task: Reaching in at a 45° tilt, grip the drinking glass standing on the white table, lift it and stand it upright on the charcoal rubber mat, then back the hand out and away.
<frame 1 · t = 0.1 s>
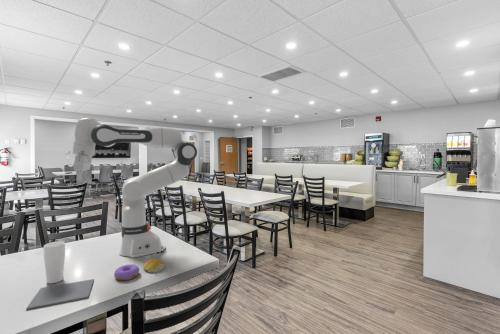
hand: (81, 179, 122), 39 cm above the table, tool pointing down, fingers open, 8 cm apart
donut: (126, 276, 105), on the table
drinking glass: (55, 281, 101), on the table
rubber mat: (63, 293, 91), on the table
bread roll: (154, 269, 113), on the table
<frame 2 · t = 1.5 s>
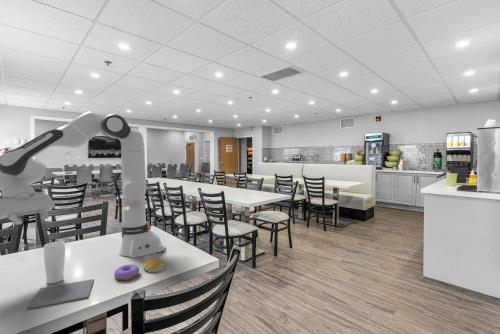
hand: (33, 221, 104), 23 cm above the table, tool tilted 45°, fingers open, 8 cm apart
nothing on the table moved.
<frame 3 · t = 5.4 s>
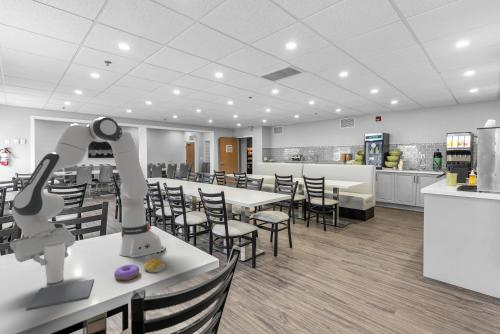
hand: (55, 260, 100), 8 cm above the table, tool tilted 45°, fingers closed on drinking glass, 6 cm apart
drinking glass: (55, 281, 101), on the table, touching gripper
everything else where it was.
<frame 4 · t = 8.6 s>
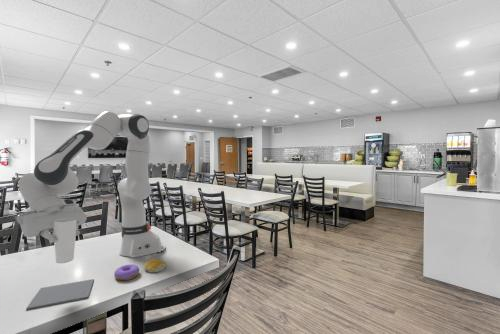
hand: (66, 237, 91), 20 cm above the table, tool tilted 45°, fingers closed on drinking glass, 6 cm apart
drinking glass: (64, 261, 91), point 12 cm above the table, touching gripper
everything else where it was.
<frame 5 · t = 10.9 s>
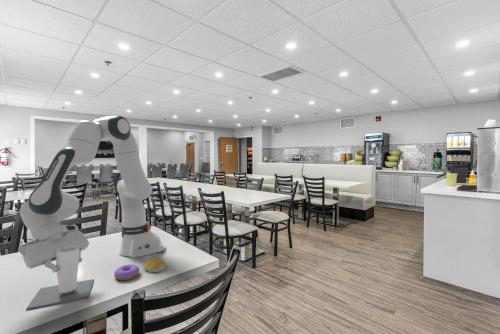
hand: (69, 266, 90), 10 cm above the table, tool tilted 45°, fingers closed on drinking glass, 6 cm apart
drinking glass: (67, 290, 91), point 1 cm above the table, touching gripper
everything else where it was.
when the fingers open (10 cm above the table, at t = 11.6 s): drinking glass moves 1 cm, resting on rubber mat.
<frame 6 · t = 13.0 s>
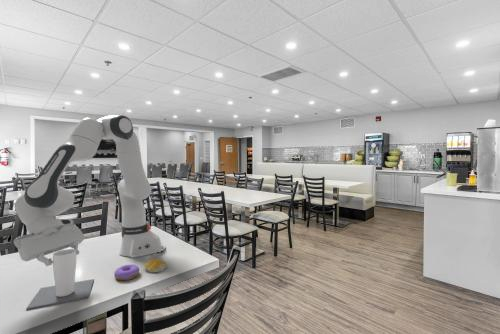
hand: (64, 259, 91), 12 cm above the table, tool tilted 45°, fingers open, 8 cm apart
drinking glass: (65, 294, 90), resting on rubber mat
everything else where it was.
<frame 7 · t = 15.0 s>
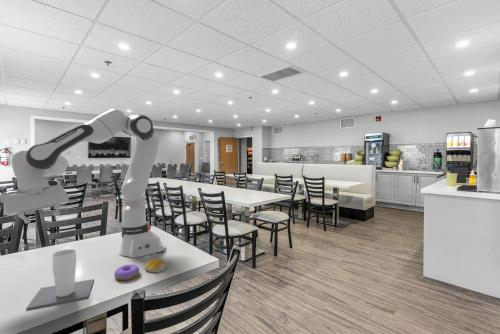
hand: (43, 218, 101), 25 cm above the table, tool tilted 30°, fingers open, 8 cm apart
nothing on the table moved.
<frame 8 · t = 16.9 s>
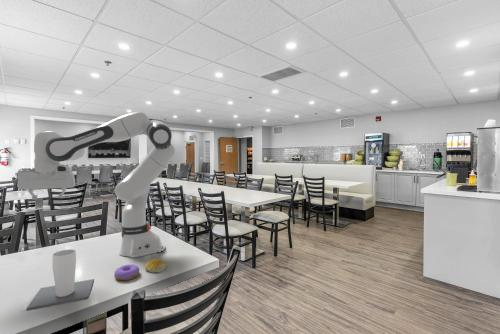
hand: (48, 198, 112), 31 cm above the table, tool pointing down, fingers open, 8 cm apart
nothing on the table moved.
at the end: drinking glass inside the target area on the rubber mat (1.9 cm from its centre), point 0.4 cm above the rubber mat's base; drinking glass tilted 0°; the gripper is holding nothing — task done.
